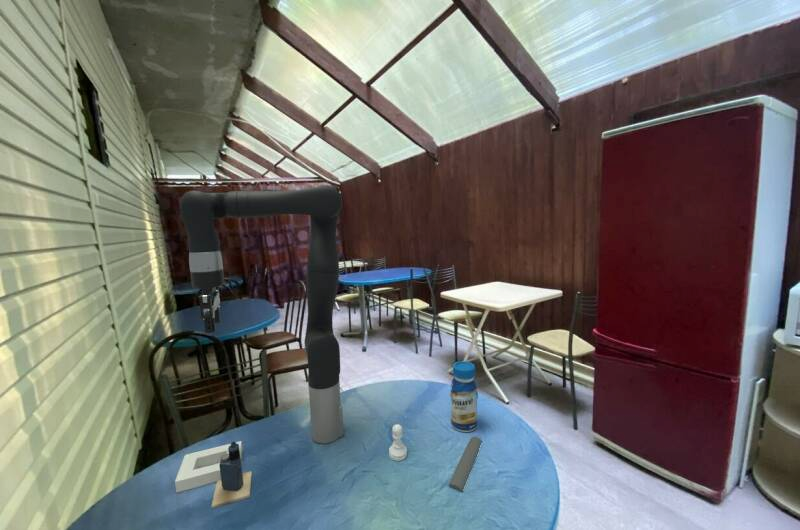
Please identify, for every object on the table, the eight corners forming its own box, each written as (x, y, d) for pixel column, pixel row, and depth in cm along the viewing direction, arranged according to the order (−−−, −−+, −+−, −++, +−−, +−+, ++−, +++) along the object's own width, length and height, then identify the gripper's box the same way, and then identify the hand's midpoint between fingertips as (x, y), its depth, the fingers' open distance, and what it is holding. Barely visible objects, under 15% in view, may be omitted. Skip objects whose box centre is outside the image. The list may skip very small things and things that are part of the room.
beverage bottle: (481, 421, 104) (481, 363, 101) (472, 436, 97) (472, 374, 94) (456, 413, 108) (456, 357, 106) (446, 427, 101) (445, 367, 98)
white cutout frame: (242, 450, 94) (241, 440, 93) (239, 475, 84) (238, 464, 84) (186, 464, 89) (185, 454, 88) (176, 492, 80) (174, 482, 79)
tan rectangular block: (251, 473, 85) (251, 471, 85) (249, 497, 78) (249, 494, 78) (217, 482, 82) (217, 480, 82) (211, 508, 75) (211, 506, 75)
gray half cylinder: (483, 444, 94) (484, 439, 94) (463, 495, 77) (463, 488, 77) (469, 440, 96) (469, 434, 96) (446, 488, 79) (446, 481, 79)
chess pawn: (405, 462, 87) (404, 432, 86) (387, 460, 88) (386, 430, 87) (408, 449, 92) (407, 420, 91) (391, 447, 93) (390, 418, 92)
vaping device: (239, 492, 78) (234, 447, 77) (219, 489, 79) (214, 445, 78) (245, 483, 81) (241, 440, 79) (226, 481, 82) (222, 438, 80)
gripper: (219, 271, 80) (225, 333, 82) (226, 264, 93) (231, 318, 95) (183, 273, 77) (191, 338, 80) (196, 266, 90) (202, 321, 93)
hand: (213, 327), depth 88 cm, fingers open, 8 cm apart
